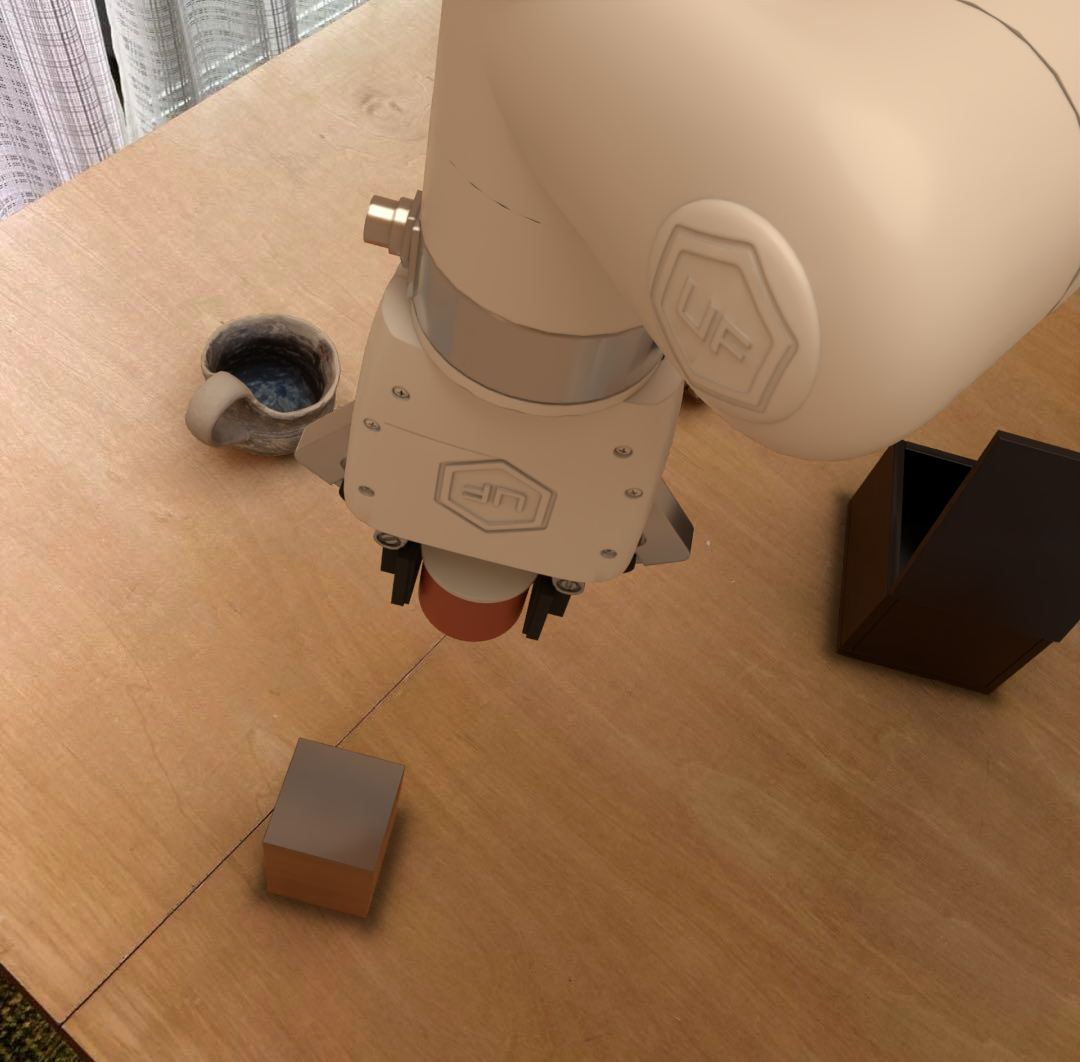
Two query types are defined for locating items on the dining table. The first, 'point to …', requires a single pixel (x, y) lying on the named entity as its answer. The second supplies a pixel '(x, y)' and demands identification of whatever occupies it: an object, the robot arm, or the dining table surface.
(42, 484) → the dining table surface
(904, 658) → the box
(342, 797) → the stand
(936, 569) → the lid
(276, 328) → the mug
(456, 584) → the disc
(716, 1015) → the dining table surface
